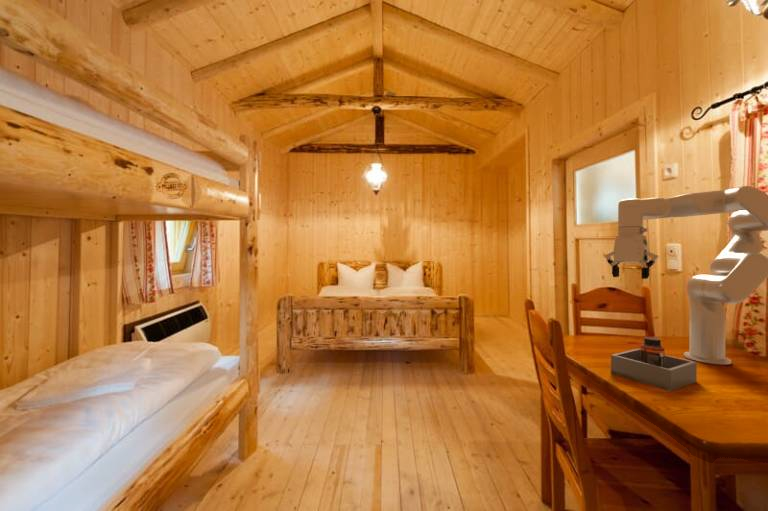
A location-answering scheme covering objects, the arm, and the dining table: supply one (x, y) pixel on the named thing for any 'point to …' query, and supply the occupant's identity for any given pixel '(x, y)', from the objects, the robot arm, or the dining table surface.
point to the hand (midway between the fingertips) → (629, 277)
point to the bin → (654, 370)
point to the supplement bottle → (652, 352)
